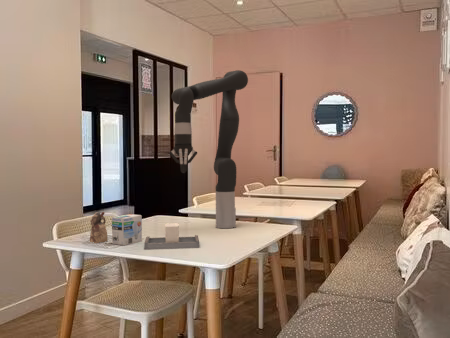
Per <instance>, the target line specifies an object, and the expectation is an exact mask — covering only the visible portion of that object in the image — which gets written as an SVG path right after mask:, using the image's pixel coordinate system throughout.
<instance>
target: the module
mask: <svg viewBox="0 0 450 338" xmlns="http://www.w3.org/2000/svg"><path fill="white" fill-rule="evenodd" d="M164 230H165V233H164V235H165V236H164V237H165V238H166V243H174V242H179V237H180V236H179V234H180V225H179V223H178V222H172V223H171V222H170V223H169V222H167V223H165V226H164Z"/></svg>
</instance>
